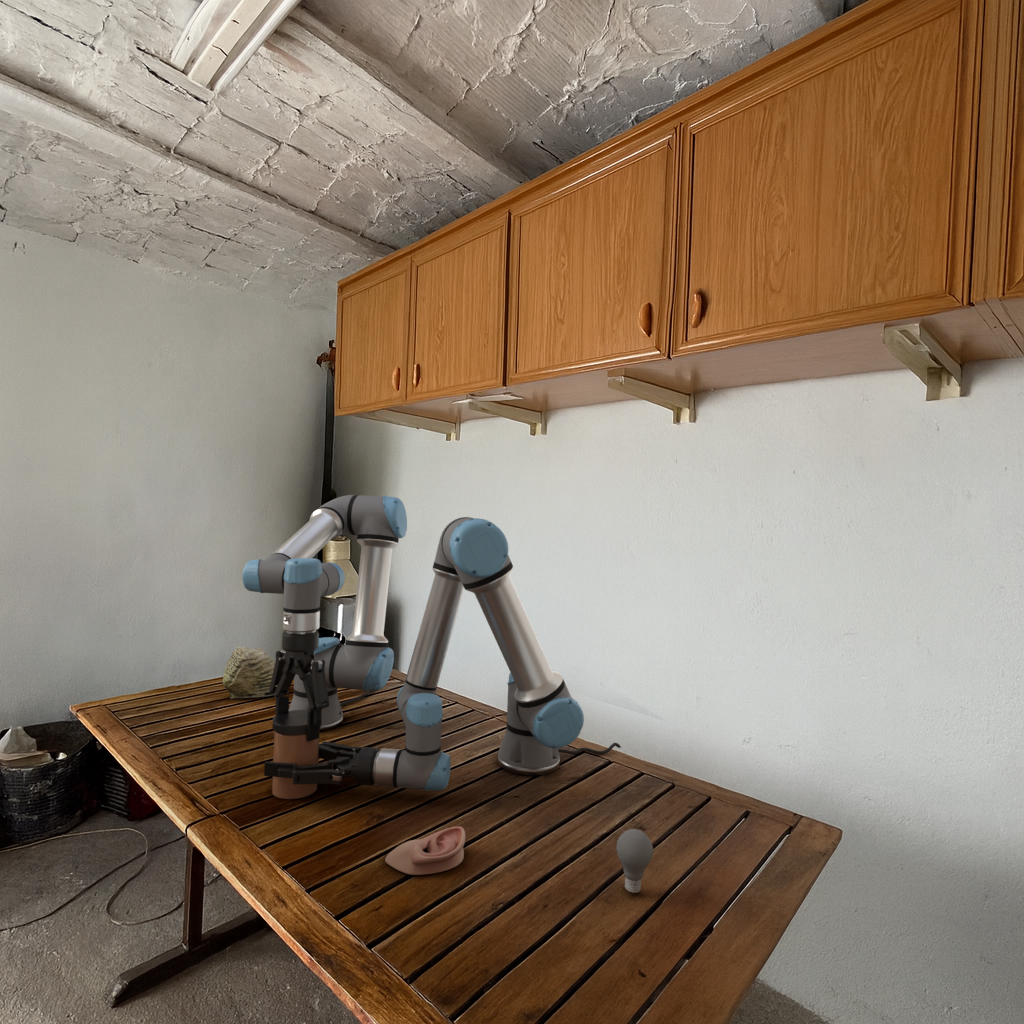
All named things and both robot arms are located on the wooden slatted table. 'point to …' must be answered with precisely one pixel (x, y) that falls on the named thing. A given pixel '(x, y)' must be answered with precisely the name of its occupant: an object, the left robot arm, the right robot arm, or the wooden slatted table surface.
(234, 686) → the fossil
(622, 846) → the light bulb
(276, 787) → the jar
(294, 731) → the lid
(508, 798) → the wooden slatted table surface
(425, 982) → the wooden slatted table surface
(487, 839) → the wooden slatted table surface
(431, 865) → the anatomical model
